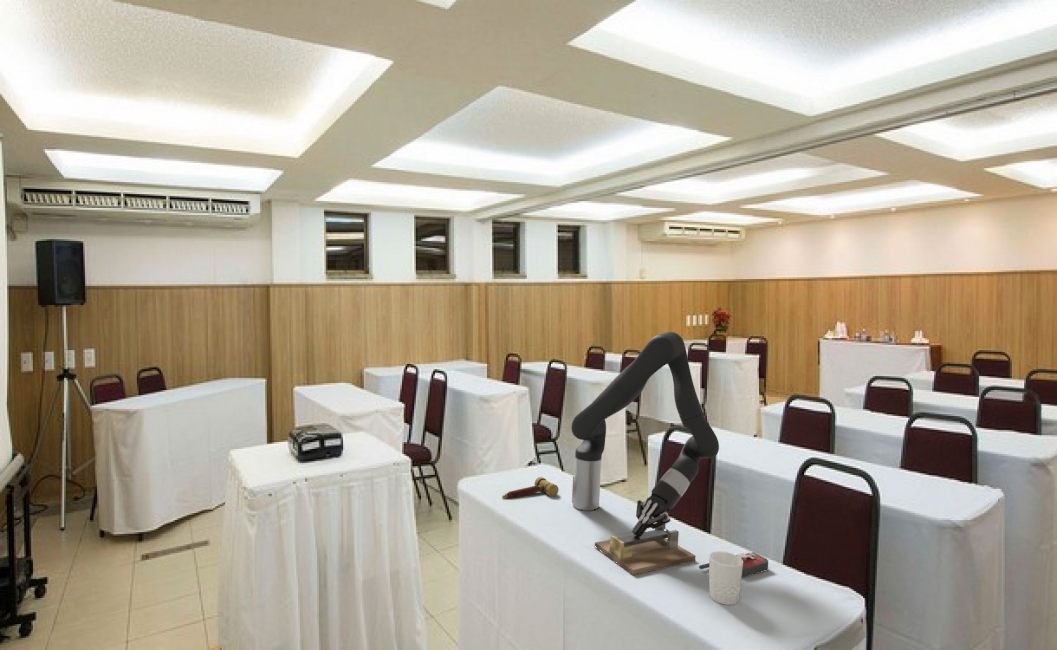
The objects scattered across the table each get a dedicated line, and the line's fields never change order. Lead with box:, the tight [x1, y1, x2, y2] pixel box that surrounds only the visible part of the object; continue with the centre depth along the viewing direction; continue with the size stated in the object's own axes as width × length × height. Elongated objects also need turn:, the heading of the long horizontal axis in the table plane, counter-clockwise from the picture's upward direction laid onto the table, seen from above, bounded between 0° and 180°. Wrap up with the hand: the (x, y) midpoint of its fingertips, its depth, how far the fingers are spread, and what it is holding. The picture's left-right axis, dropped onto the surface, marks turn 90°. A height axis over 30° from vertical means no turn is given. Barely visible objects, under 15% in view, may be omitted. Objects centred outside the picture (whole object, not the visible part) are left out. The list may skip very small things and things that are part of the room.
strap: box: [616, 527, 670, 547], centre depth 162 cm, size 4×18×2 cm, turn 117°
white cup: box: [708, 551, 743, 606], centre depth 139 cm, size 8×8×10 cm
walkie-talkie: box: [698, 552, 769, 579], centre depth 155 cm, size 9×4×20 cm
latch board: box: [594, 523, 696, 576], centre depth 162 cm, size 18×22×6 cm
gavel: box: [501, 476, 560, 499], centre depth 207 cm, size 21×5×10 cm
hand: (635, 535), depth 160 cm, fingers closed
